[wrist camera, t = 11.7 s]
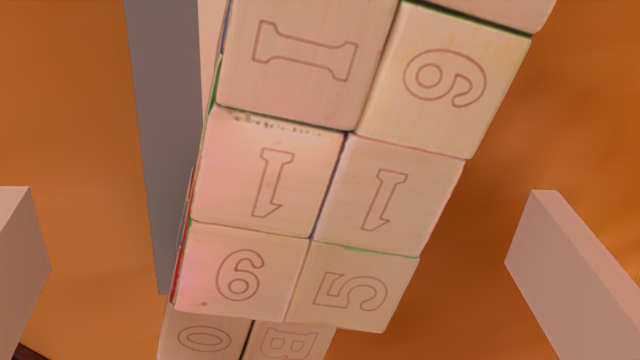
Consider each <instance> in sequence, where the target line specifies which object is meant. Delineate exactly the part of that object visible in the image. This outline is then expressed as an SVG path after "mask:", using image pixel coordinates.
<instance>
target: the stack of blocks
mask: <svg viewBox="0 0 640 360" xmlns="http://www.w3.org/2000/svg"><path fill="white" fill-rule="evenodd" d="M556 2H557V0H227V1H226V5H225V10H224V14H223V19H222V24H221V28H220V33H219V38H218V42H217V48H216V55H215V62H214V74H213V79H212V83H211V88H210V93H209V98H208V103H207V108H206V113H205V118H204V123H203V128H202V134H201V140H200V147H199V153H198V157H197V161H196V166H194V167H193V168H192V171H191V175H190V180H189V184H188V189H187V194H186V198H185V203H184V208H183V212H182V217H181V222H180V228H179V233H178V239H177V244H176V252H175V257H174V263H173V269H172V275H171V279H170V285H169V290H168V294H167V299H166V304H165V309H164V314H163V320H162V325H161V331H160V336H159V342H158V348H157V354H156V358H157V360H323V359H324V357H325V355H326V352H327V350H328V348H329V345H330V343H331V340H332V338H333V336H334V334H335V332H336V329H337V328H342V329H348V330H355V331H362V332H368V333H376V334H381V333H383V332H384V331H385V329H386V327H387V326H388V324H389V322H390V320H391V318H392V316H393V314H394V312H395V310H396V308H397V306H398V304H399V301H400V299H401V297H402V295H403V293H404V291H405V290H406V288H407V286H408V284H409V282H410V280H411V278H412V276H413V274H414V272H415V270H416V268H417V266H418V264H419V262H420V254H421V253H422V251H423V249H424V247H425V246H426V244H427V242H428V240H429V239H430V237H431V235H432V233H433V231H434V229H435V227H436V225H437V223H438V221H439V219H440V216H441V214H442V212H443V209H444V207H445V205H446V203H447V202H448V200H449V198H450V197H451V195H452V193H453V191H454V189H455V187H456V185H457V183H458V181H459V179H460V176H461V174H462V172H463V169H464V166H465V163H466V161H467V160H469V159H470V158H472V157H473V156H474V154H475V152H476V150H477V149H478V147H479V145H480V143H481V141H482V139H483V137H484V135H485V133H486V132H487V130H488V128H489V126H490V124H491V122H492V120H493V118H494V116H495V114H496V112H497V110H498V109H499V107H500V105H501V103H502V101H503V99H504V97H505V95H506V93H507V91H508V89H509V87H510V85H511V83H512V81H513V79H514V77H515V75H516V73H517V71H518V70H519V68H520V66H521V64H522V62H523V60H524V58H525V56H526V54H527V52H528V50H529V48H530V45H531V36H532V35H534V34H535V33H537V32H538V31H539V30H540V29H541V28H542V27H543V26H544V25H545V23H546V21H547V19H548V17H549V15H550V13H551V11H552V10H553V8H554V6H555V4H556Z"/></svg>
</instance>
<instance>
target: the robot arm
mask: <svg viewBox="0 0 640 360" xmlns="http://www.w3.org/2000/svg"><path fill="white" fill-rule="evenodd" d="M504 264H505V266H506V268H507V269H508V271H509V273H510V275H511V276H512V278H513V280H514V281H515V283H516V285H517V287H518V288H519V290H520V292H521V294H522V295H523V297H524V299H525V300H526V302H527V304H528V306H529V307H530V309H531V311H532V312H533V314H534V316H535V318H536V319H537V321H538V323H539V325H540V326H541V328H542V330H543V331H544V333H545V335H546V337H547V338H548V340H549V342H550V344H551V345H552V347H553V349H554V350H555V352H556V354H557V356H558V357H559V359H560V360H640V288H639V287H638V285H637V284H636V283H635V282H634V281H633V279H632V278H631V277H630V276H629V275H628V274H627V272H626V271H625V270H624V269H623V268H622V266H621V265H620V264H619V263H618V262H617V261H616V259H615V258H614V257H613V256H612V255H611V253H610V252H609V251H608V250H607V249H606V247H605V246H604V245H603V244H602V243H601V242H600V240H599V239H598V238H597V237H596V236H595V234H594V233H593V232H592V231H591V230H590V229H589V227H588V226H587V225H586V224H585V223H584V221H583V220H582V219H581V218H580V217H579V215H578V214H577V213H576V212H575V211H574V210H573V208H572V207H571V206H570V205H569V204H568V202H567V201H566V200H565V199H564V198H563V197H562V195H561V194H560V193H559V192H558V191H557V190H531V192H530V194H529V197H528V200H527V202H526V205H525V208H524V210H523V213H522V216H521V219H520V221H519V224H518V227H517V229H516V232H515V235H514V237H513V240H512V243H511V245H510V248H509V251H508V253H507V256H506V259H505V261H504ZM51 270H52V268H51V265H50V261H49V257H48V254H47V250H46V247H45V243H44V239H43V236H42V232H41V228H40V225H39V221H38V217H37V214H36V210H35V206H34V203H33V199H32V195H31V192H30V188H29V186H0V360H11V358H12V356H13V354H14V351H15V349H16V347H17V345H18V343H19V340H20V338H21V336H22V334H23V332H24V329H25V327H26V325H27V323H28V321H29V318H30V316H31V314H32V312H33V310H34V307H35V305H36V303H37V301H38V299H39V296H40V294H41V292H42V290H43V288H44V285H45V283H46V281H47V279H48V277H49V274H50V272H51Z"/></svg>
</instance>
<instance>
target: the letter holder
mask: <svg viewBox="0 0 640 360" xmlns="http://www.w3.org/2000/svg"><path fill="white" fill-rule="evenodd" d="M11 360H48V359H46V358H44V357H42V356H40V355H38V354H37V353H35V352H33V351H31V350H29V349H28V348H26V347H24V346H22V345H21V344H19V343H18V345H17V347H16V349H15V351H14V354H13V356H12V358H11Z"/></svg>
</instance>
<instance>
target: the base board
mask: <svg viewBox="0 0 640 360" xmlns="http://www.w3.org/2000/svg"><path fill="white" fill-rule="evenodd" d="M226 1H227V0H123V3H124V11H125V19H126V28H127V36H128V44H129V53H130V61H131V69H132V78H133V86H134V94H135V103H136V111H137V119H138V128H139V136H140V144H141V153H142V161H143V169H144V178H145V186H146V194H147V203H148V211H149V219H150V228H151V236H152V244H153V253H154V261H155V269H156V278H157V286H158V294H159V295H164V294H168V290H169V285H170V279H171V275H172V269H173V263H174V257H175V252H176V244H177V239H178V233H179V228H180V222H181V217H182V212H183V208H184V203H185V198H186V194H187V189H188V184H189V180H190V175H191V171H192V168H193V167H194V166H196V161H197V157H198V153H199V147H200V140H201V134H202V128H203V123H204V118H205V113H206V108H207V103H208V98H209V93H210V88H211V83H212V79H213V74H214V62H215V55H216V48H217V42H218V38H219V33H220V28H221V24H222V19H223V14H224V10H225V5H226Z"/></svg>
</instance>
